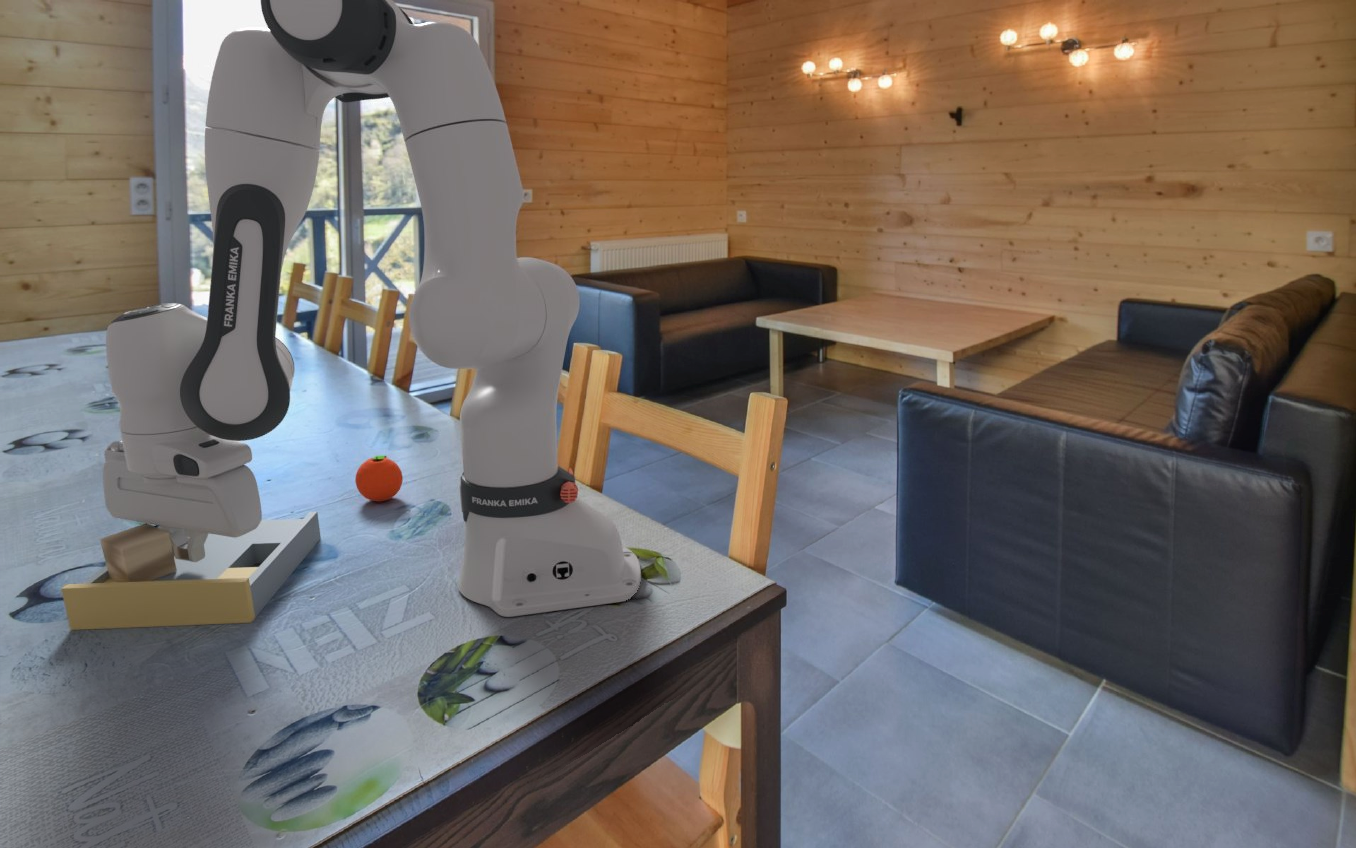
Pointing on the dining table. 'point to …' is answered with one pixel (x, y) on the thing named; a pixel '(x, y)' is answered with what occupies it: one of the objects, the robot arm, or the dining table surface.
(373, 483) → the clementine
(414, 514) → the dining table surface
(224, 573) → the tray
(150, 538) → the cube
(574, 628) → the dining table surface
